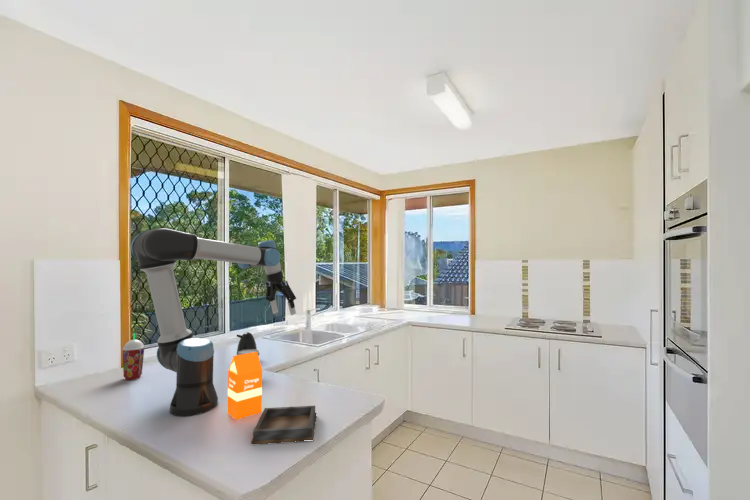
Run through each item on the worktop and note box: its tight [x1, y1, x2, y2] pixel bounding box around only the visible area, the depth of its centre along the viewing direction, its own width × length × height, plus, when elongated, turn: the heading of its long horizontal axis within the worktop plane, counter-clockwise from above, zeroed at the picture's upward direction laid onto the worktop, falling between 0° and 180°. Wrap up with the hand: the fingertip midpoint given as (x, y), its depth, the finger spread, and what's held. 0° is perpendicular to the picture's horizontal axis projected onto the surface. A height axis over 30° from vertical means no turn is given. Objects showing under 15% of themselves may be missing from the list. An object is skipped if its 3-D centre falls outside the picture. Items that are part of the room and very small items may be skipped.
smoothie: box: [121, 333, 146, 381], centre depth 157 cm, size 8×8×20 cm
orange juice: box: [226, 352, 263, 421], centre depth 119 cm, size 8×9×20 cm
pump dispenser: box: [236, 331, 258, 355], centre depth 185 cm, size 10×10×15 cm
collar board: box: [250, 405, 317, 445], centre depth 107 cm, size 17×17×4 cm
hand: (284, 313), depth 170 cm, fingers open, 13 cm apart
